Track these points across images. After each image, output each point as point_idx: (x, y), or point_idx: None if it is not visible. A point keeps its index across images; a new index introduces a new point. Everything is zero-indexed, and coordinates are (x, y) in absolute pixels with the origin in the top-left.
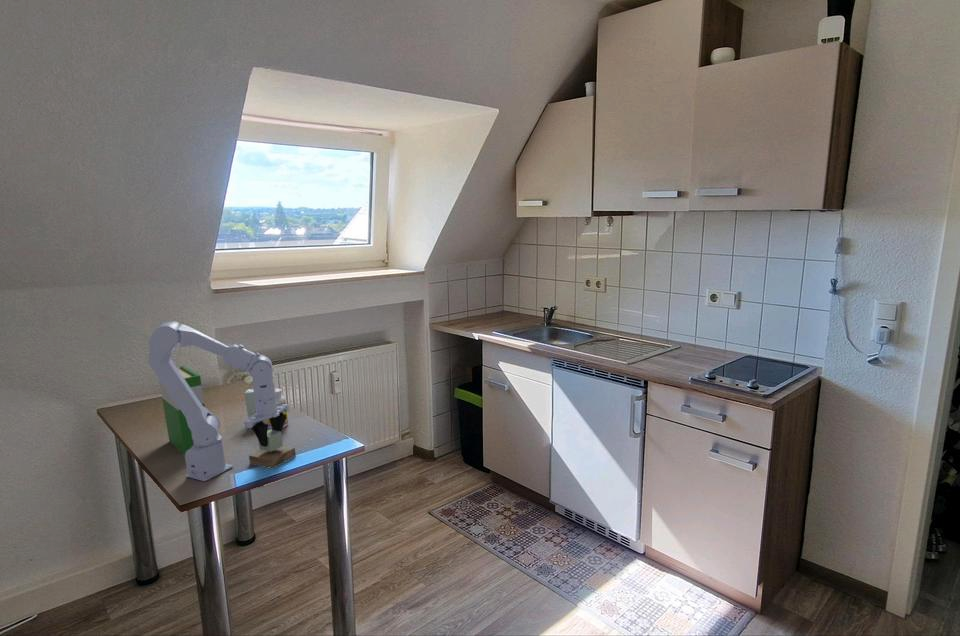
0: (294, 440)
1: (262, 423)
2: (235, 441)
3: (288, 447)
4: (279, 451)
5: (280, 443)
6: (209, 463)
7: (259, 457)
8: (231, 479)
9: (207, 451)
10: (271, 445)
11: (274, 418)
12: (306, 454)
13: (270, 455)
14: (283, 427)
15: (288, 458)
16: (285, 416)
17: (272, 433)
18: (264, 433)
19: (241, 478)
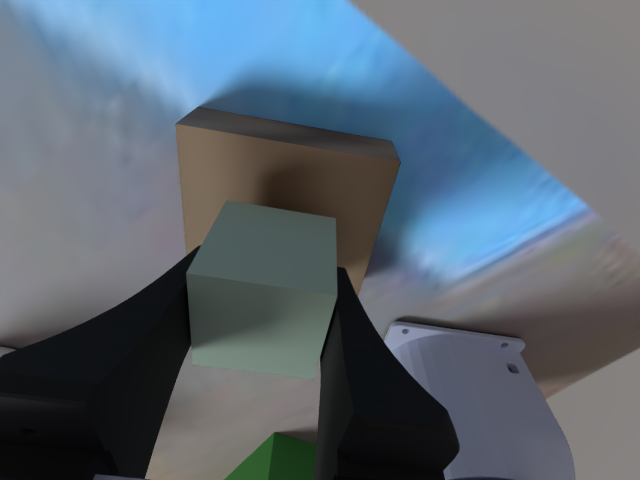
0: (57, 238)
1: (363, 477)
2: (198, 411)
3: (195, 171)
4: (267, 192)
5: (239, 216)
6: (502, 394)
7: (368, 255)
8: (511, 265)
9: (529, 459)
10: (323, 241)
11: (129, 441)
12: (149, 36)
13: (332, 212)
14: (7, 348)
15: (260, 120)
16: (3, 382)
17: (255, 312)
18: (377, 350)
19: (506, 230)
